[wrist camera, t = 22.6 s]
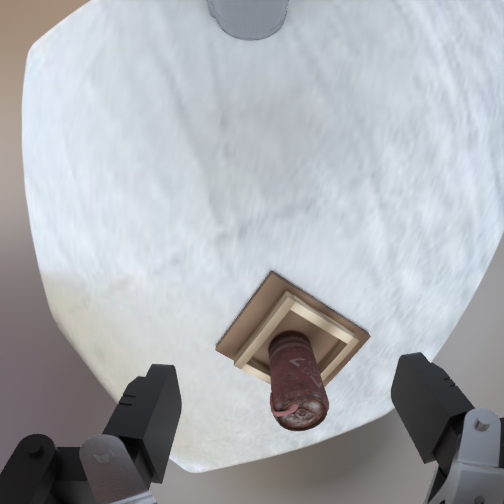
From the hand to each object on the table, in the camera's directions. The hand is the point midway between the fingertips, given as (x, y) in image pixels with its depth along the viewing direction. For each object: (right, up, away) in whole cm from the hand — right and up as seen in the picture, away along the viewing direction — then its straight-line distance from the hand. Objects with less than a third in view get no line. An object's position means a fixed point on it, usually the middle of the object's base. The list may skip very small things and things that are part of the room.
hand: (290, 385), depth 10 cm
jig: (+5, -8, +33) cm, 35 cm away
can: (+4, -9, +32) cm, 34 cm away
